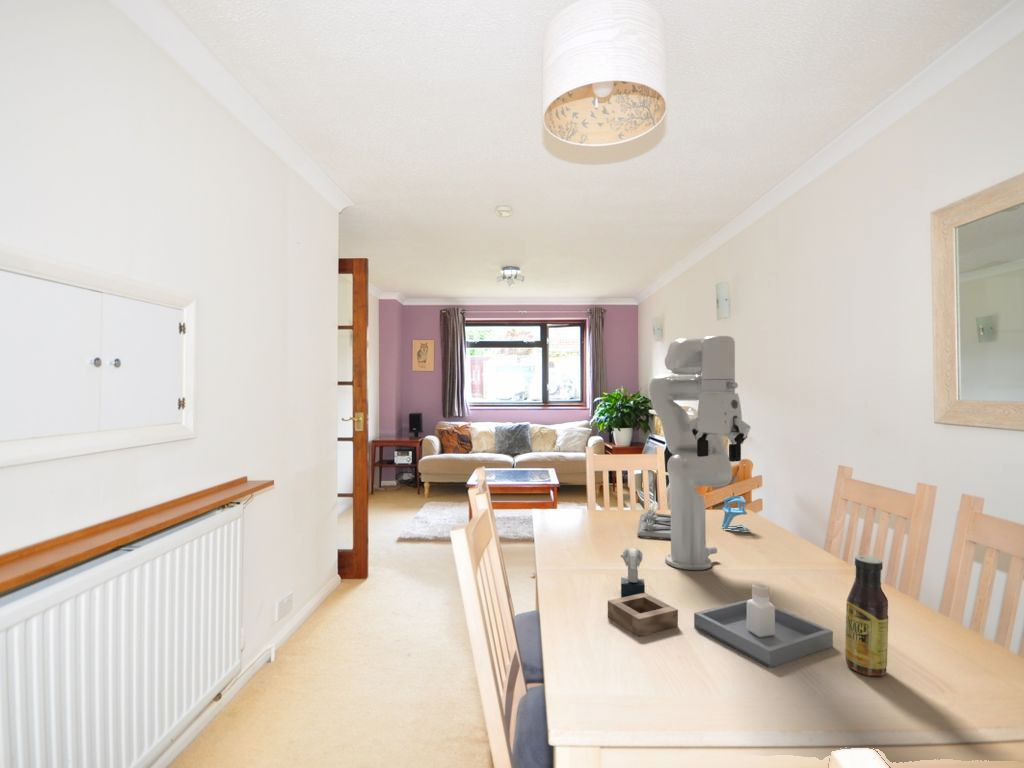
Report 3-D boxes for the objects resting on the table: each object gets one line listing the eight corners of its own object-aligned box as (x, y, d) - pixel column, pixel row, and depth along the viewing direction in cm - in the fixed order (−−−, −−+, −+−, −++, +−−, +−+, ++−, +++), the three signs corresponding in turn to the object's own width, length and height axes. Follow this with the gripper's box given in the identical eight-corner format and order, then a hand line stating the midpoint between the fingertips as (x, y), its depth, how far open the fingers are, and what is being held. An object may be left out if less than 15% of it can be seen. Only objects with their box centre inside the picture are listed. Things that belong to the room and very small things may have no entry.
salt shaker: (760, 639, 104) (759, 590, 104) (745, 630, 108) (745, 583, 108) (776, 636, 105) (776, 588, 105) (761, 627, 109) (761, 581, 109)
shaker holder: (644, 607, 120) (644, 592, 120) (677, 626, 111) (677, 609, 111) (607, 616, 116) (607, 600, 116) (638, 636, 106) (638, 619, 106)
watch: (643, 588, 132) (643, 544, 132) (644, 601, 124) (644, 554, 124) (620, 587, 133) (620, 543, 133) (620, 599, 125) (620, 553, 125)
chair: (719, 526, 192) (719, 493, 192) (743, 527, 191) (743, 494, 191) (725, 532, 184) (724, 498, 184) (750, 533, 183) (749, 498, 183)
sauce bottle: (837, 661, 97) (836, 552, 97) (869, 659, 97) (868, 551, 97) (863, 680, 90) (863, 564, 90) (898, 679, 91) (897, 563, 91)
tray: (753, 611, 118) (753, 597, 118) (832, 646, 102) (832, 630, 102) (694, 627, 110) (694, 612, 110) (769, 668, 94) (769, 651, 94)
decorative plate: (705, 544, 171) (704, 522, 171) (637, 539, 177) (637, 518, 177) (698, 522, 200) (698, 503, 200) (640, 518, 206) (640, 500, 206)
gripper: (759, 387, 120) (760, 462, 120) (702, 387, 136) (702, 453, 136) (736, 387, 117) (736, 464, 117) (680, 387, 133) (680, 455, 132)
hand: (718, 458), depth 126 cm, fingers open, 9 cm apart
